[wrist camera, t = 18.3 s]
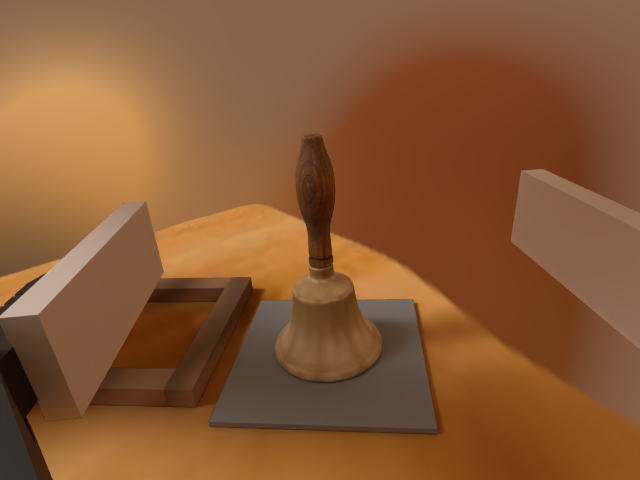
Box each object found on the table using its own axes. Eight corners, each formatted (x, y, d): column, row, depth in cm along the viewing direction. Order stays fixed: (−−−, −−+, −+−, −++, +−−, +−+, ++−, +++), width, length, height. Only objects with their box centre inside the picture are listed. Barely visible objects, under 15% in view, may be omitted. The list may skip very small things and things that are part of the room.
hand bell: (267, 326, 34) (237, 134, 28) (359, 305, 36) (351, 120, 30) (286, 396, 27) (251, 158, 21) (401, 366, 29) (402, 138, 22)
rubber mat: (209, 426, 26) (208, 421, 26) (261, 304, 38) (261, 300, 38) (437, 434, 24) (437, 429, 24) (413, 303, 37) (413, 299, 37)
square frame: (-4, 401, 29) (-12, 385, 29) (114, 291, 43) (110, 279, 42) (196, 407, 27) (191, 390, 27) (252, 290, 41) (250, 277, 40)
